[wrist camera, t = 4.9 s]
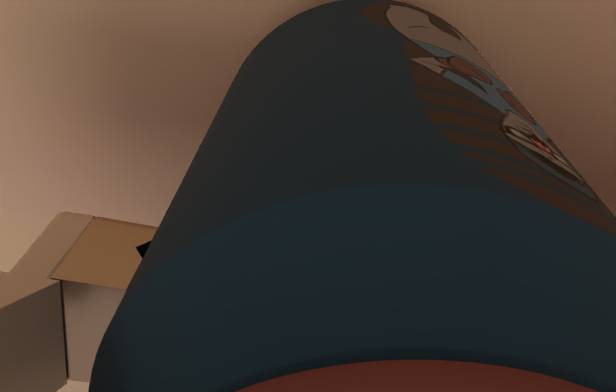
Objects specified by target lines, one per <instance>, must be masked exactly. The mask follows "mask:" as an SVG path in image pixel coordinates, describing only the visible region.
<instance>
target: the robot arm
mask: <svg viewBox="0 0 616 392" xmlns="http://www.w3.org/2000/svg"><path fill="white" fill-rule="evenodd" d="M158 228H159V227H154V226H148V225H142V224H137V223H131V222H126V221H120V220H114V219H109V218H103V217H95V216H92V215H85V214H79V213H72V212H66V211H65V212H62V213H59V214H58V215H56V217H55V218H54V219H53V220H52V221H51V223H50V224H49V225H48V226H47V228H46V229H45V230H44V231H43V232H42V234H41V235H40V236H39V237H38V238H37V240H36V241H35V242H34V243H33V244H32V246H31V247H30V248H29V249H28V251H27V252H26V253H25V254H24V255H23V257H22V258H21V259H20V260H19V261H18V263H17V264H16V265H15V266H14V267H13V269H12V270H11V271H10V272H9V273H7V272H0V392H56V391H57V390H59V389H60V388H61V387H63V386H64V385H65V384H67V380H73V381H81V382H90V378H91V372H92V367H93V364H94V360H95V357H96V353H97V350H98V348H99V345H100V343H101V341H102V338H103V336H104V334H105V332H106V330H107V328H108V326H109V324H110V322H111V320H112V318H113V316H114V314H115V312H116V310H117V308H118V306H119V304H120V302H121V300H122V298H123V296H124V294H125V292H126V290H127V288H128V286H129V285H130V283H131V281H132V279H133V277H134V275H135V273H136V271H137V269H138V267H139V265H140V263H141V261H142V259H143V257H144V255H145V253H146V251H147V249H148V247H149V245H150V243H151V241H152V239H153V237H154V235H155V234H156V232H157V230H158Z"/></svg>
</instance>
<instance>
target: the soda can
mask: <svg viewBox="0 0 616 392" xmlns="http://www.w3.org/2000/svg"><path fill="white" fill-rule="evenodd" d="M89 392H616V218H615V216H614V215H613V214H612V213H611V212H610V210H609V209H608V208H607V207H606V206H605V204H604V203H603V202H602V201H601V199H600V198H599V197H598V196H597V195H596V193H595V192H594V191H593V190H592V189H591V187H590V186H589V185H588V184H587V183H586V181H585V180H584V179H583V178H582V176H581V175H580V174H579V173H578V172H577V170H576V169H575V168H574V167H573V166H572V164H571V163H570V162H569V161H568V160H567V158H566V157H565V156H564V155H563V153H562V152H561V151H560V150H559V149H558V147H557V146H556V145H555V144H554V143H553V141H552V140H551V139H550V138H549V137H548V135H547V134H546V133H545V132H544V130H543V129H542V128H541V127H540V126H539V124H538V123H537V122H536V121H535V120H534V118H533V117H532V116H531V115H530V114H529V112H528V111H527V110H526V109H525V107H524V106H523V105H522V104H521V103H520V101H519V100H518V99H517V98H516V97H515V95H514V94H513V93H512V92H511V91H510V89H509V88H508V87H507V86H506V84H505V83H504V82H503V81H502V80H501V78H500V77H499V76H498V75H497V74H496V72H495V71H494V70H493V69H492V68H491V66H490V65H489V64H488V63H487V62H486V60H485V59H484V58H483V57H482V55H481V54H480V53H479V52H478V51H477V49H476V48H475V47H474V46H473V45H472V44H471V43H470V41H469V40H468V39H467V38H466V37H465V36H463V35H462V34H461V33H460V32H459V31H458V30H457V29H455V28H454V27H453V26H451V25H450V24H449V23H447V22H446V21H444V20H442V19H441V18H439V17H437V16H436V15H434V14H432V13H430V12H428V11H425V10H423V9H420V8H418V7H415V6H412V5H409V4H406V3H401V2H397V1H392V0H341V1H335V2H331V3H327V4H323V5H320V6H317V7H315V8H312V9H309V10H307V11H305V12H302V13H300V14H298V15H296V16H295V17H293V18H291V19H289V20H287V21H286V22H284V23H283V24H281V25H280V26H278V27H277V28H276V29H275V30H273V31H272V32H271V33H269V34H268V35H267V36H266V37H265V38H264V39H263V40H262V41H261V42H260V43H259V44H258V45H257V46H256V47H255V48H254V49H253V51H252V52H251V53H250V54H249V56H248V57H247V58H246V60H245V61H244V63H243V64H242V66H241V68H240V69H239V71H238V73H237V75H236V77H235V79H234V81H233V83H232V85H231V87H230V88H229V90H228V92H227V94H226V96H225V98H224V100H223V102H222V104H221V106H220V108H219V110H218V112H217V114H216V116H215V118H214V120H213V122H212V124H211V126H210V128H209V130H208V132H207V134H206V136H205V137H204V139H203V141H202V143H201V145H200V147H199V149H198V151H197V153H196V155H195V157H194V159H193V161H192V163H191V165H190V167H189V169H188V171H187V173H186V175H185V177H184V179H183V181H182V183H181V185H180V186H179V188H178V190H177V192H176V194H175V196H174V198H173V200H172V202H171V204H170V206H169V208H168V210H167V212H166V214H165V216H164V218H163V220H162V222H161V224H160V226H159V228H158V230H157V232H156V234H155V235H154V237H153V239H152V241H151V243H150V245H149V247H148V249H147V251H146V253H145V255H144V257H143V259H142V261H141V263H140V265H139V267H138V269H137V271H136V273H135V275H134V277H133V279H132V281H131V283H130V285H129V286H128V288H127V290H126V292H125V294H124V296H123V298H122V300H121V302H120V304H119V306H118V308H117V310H116V312H115V314H114V316H113V318H112V320H111V322H110V324H109V326H108V328H107V330H106V332H105V334H104V336H103V338H102V341H101V343H100V345H99V348H98V350H97V353H96V357H95V360H94V364H93V367H92V372H91V378H90V385H89Z"/></svg>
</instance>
